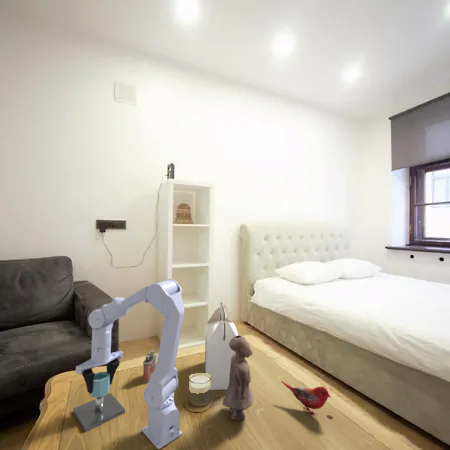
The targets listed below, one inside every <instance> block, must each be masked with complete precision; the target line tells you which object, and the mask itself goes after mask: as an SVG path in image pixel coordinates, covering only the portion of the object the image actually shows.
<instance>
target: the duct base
mask: <svg viewBox="0 0 450 450" xmlns="http://www.w3.org/2000/svg"><path fill="white" fill-rule="evenodd" d="M94 398H95V399H93V400H90V401H88V402H85V403H83V404H81V405H79V406H76V407H73V408H72V413H73V415H74V416H75V418H76V419H77V421H78V423H79V425H80V426H81V428H82V429H83V431H84V433H87V432H88V431H90V430H93V429H94V428H97V427H99V426H100V425H103V424H104V423H107V422H108V421H110V420H111V421H112V420H113V419H114V418H117V417H119V416H122V415H123V414H125V413H126V409H125V408H124V406H123V405H122V404H121V403H120V402H119V401H118V400H117V399H116V397H114V395H113V394H112V393H111V392H108V393H107V394H106V395H103V396H101V397H94Z"/></svg>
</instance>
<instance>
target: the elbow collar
mask: <svg viewBox="0 0 450 450" xmlns="http://www.w3.org/2000/svg"><path fill="white" fill-rule="evenodd" d="M94 373H95V375H94V380H93V392H92V393H91V394H90V393H89V392H88V395H89V396H90V397H91V398H95V397H101V396H103V395H107V394H109V392H110V390H111V385H110V374H109V373H108V372H107V371H98V372H94Z"/></svg>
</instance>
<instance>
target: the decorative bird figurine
mask: <svg viewBox="0 0 450 450" xmlns="http://www.w3.org/2000/svg"><path fill="white" fill-rule="evenodd" d="M280 382H281V383H282V384H283V385H284V386H285V387H286V388H287V389H289V390H290V392H291V393H292V394H293V396H294V397H295V398H296V399H297V400H298V401H299V402H300V403H301V404H302V405H303V406H304V407H303V408H302V409H303V410H305V411H307V412H309V414H312V415H316V416H319V414H318V413H315V411H312V410H318V409H321V408H322V407H323V406H324V405H325V403H326V402H327V401H328V398H332V397H331V395H330V393H329V391H328V389H327V388H326V387H325V386H317V387H314V388H308V387H293V386H292V385H289V384H288V383H286V382H284V381H282V380H281V381H280ZM311 409H312V410H311Z"/></svg>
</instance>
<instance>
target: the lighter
mask: <svg viewBox="0 0 450 450" xmlns="http://www.w3.org/2000/svg"><path fill="white" fill-rule="evenodd" d="M157 358H158V354H156V350H155V349H152V350H150V352H147V354H146V356H145V359H144V361H143V362H142V363H143V370H142V371H143V372H142V373H143V375H142V376H143V377H142V383H143V384H149V380H150V378H151V376H152V374H153V373H154V371H155V369H156V364H157Z"/></svg>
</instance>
